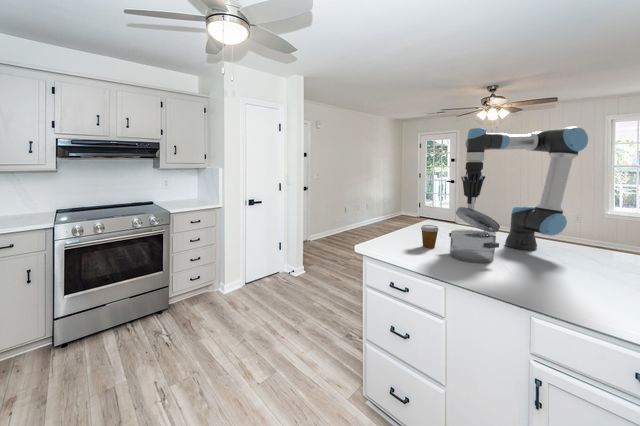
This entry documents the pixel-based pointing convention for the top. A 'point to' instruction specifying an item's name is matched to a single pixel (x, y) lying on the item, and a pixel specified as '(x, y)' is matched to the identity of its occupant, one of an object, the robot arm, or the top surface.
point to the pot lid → (477, 219)
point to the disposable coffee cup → (429, 236)
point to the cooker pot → (473, 245)
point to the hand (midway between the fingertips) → (470, 210)
